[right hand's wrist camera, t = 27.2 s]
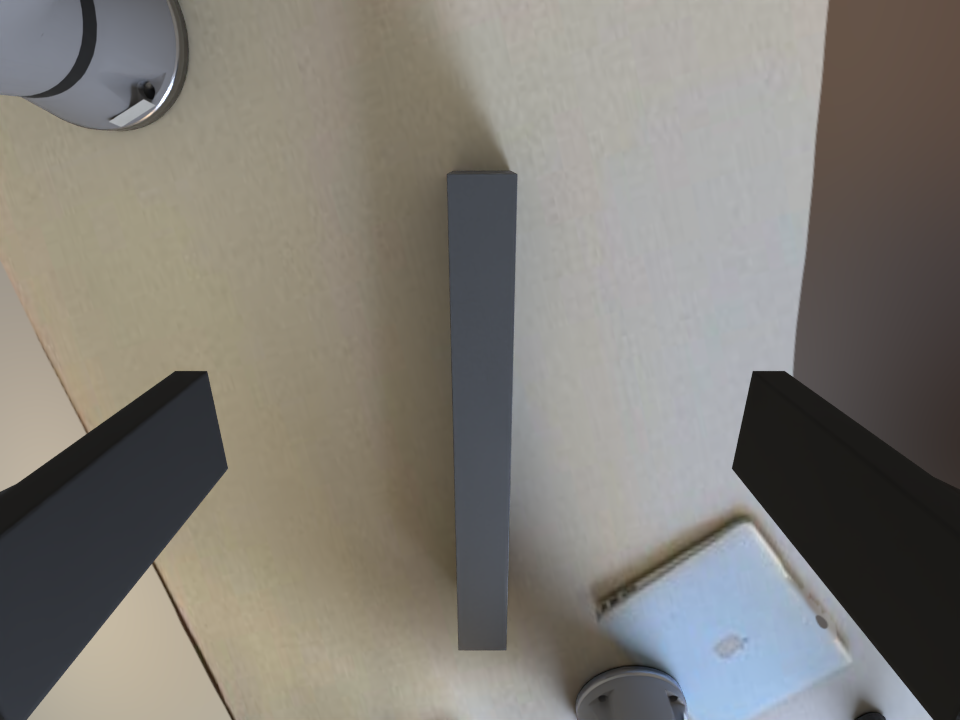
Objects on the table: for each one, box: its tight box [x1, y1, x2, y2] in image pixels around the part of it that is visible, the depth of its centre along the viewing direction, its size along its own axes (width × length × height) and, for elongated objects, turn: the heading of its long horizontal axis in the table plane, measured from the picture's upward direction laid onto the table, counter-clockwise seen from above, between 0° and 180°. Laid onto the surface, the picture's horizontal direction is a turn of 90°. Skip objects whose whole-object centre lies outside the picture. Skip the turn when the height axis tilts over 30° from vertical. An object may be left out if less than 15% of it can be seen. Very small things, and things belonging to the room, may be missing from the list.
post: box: [447, 171, 517, 650], centre depth 52 cm, size 50×5×8 cm, turn 0°
